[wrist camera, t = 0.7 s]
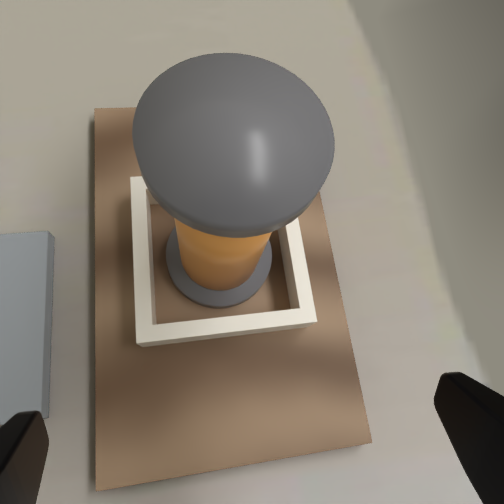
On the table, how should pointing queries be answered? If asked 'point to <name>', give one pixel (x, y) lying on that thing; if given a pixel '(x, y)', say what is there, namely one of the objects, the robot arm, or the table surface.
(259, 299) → the walnut board
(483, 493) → the robot arm
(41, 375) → the grey mat
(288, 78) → the orange cylinder grey ends
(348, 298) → the table surface
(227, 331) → the white square frame
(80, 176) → the table surface
